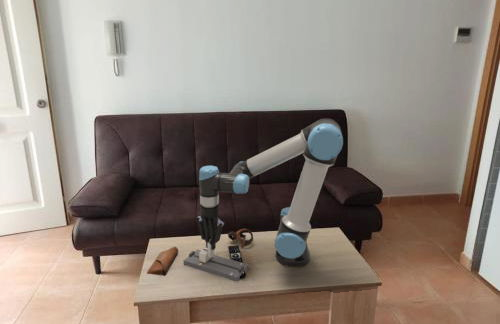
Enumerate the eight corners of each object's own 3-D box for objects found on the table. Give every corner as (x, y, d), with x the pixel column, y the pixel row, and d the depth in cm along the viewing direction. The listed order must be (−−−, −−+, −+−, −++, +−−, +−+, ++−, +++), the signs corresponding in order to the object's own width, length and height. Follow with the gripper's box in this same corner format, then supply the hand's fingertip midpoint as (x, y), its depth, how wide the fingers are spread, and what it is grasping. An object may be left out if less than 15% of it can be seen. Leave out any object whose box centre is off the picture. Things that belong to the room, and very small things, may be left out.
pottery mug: (250, 238, 180) (255, 228, 175) (249, 254, 173) (254, 245, 168) (226, 233, 178) (230, 223, 173) (224, 249, 172) (228, 240, 166)
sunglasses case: (160, 251, 167) (166, 240, 164) (173, 259, 167) (180, 248, 165) (145, 274, 149) (152, 262, 147) (160, 283, 150) (167, 271, 148)
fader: (213, 256, 158) (213, 247, 157) (205, 262, 153) (205, 254, 152) (207, 254, 160) (207, 245, 159) (199, 261, 155) (199, 252, 153)
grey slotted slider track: (248, 269, 154) (248, 262, 153) (236, 281, 145) (236, 274, 144) (197, 253, 165) (197, 247, 164) (183, 264, 157) (183, 257, 156)
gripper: (228, 203, 148) (228, 255, 155) (201, 197, 154) (203, 247, 161) (218, 210, 142) (219, 263, 149) (190, 204, 148) (193, 255, 155)
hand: (211, 255), depth 155 cm, fingers closed
